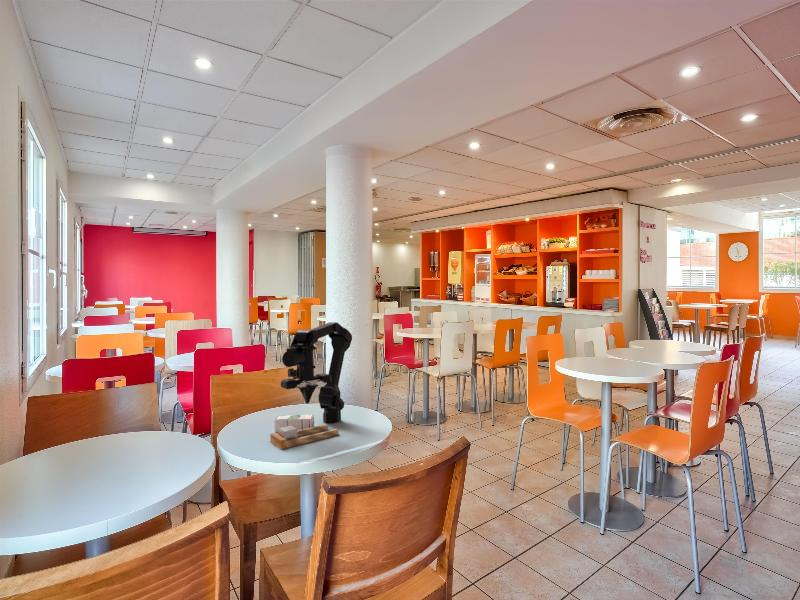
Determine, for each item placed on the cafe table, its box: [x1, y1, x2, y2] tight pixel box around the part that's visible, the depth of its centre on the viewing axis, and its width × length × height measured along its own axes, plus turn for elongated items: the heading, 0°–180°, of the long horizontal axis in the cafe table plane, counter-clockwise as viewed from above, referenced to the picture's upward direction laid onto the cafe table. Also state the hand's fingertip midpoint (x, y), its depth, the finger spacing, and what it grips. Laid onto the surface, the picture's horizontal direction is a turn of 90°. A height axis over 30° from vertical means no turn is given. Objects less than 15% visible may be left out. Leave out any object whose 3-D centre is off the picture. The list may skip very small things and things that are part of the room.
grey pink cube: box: [277, 426, 298, 441], centre depth 164 cm, size 5×5×5 cm
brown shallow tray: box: [269, 423, 341, 451], centre depth 168 cm, size 23×12×4 cm, turn 128°
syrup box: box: [274, 414, 315, 433], centre depth 179 cm, size 6×6×14 cm
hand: (307, 403), depth 174 cm, fingers closed
